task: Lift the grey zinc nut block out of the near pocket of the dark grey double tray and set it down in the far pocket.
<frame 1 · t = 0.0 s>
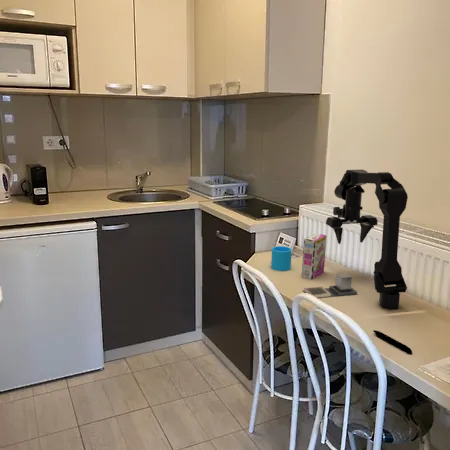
hand: (350, 243, 178), 15 cm above the breakfast bar, tool pointing down, fingers open, 9 cm apart
candy bar box: (313, 277, 184), on the breakfast bar
dark grey double tray: (329, 295, 166), on the breakfast bar
pen: (391, 345, 131), on the breakfast bar
nut block: (342, 291, 166), point 1 cm above the breakfast bar, touching dark grey double tray
mug: (278, 266, 196), on the breakfast bar
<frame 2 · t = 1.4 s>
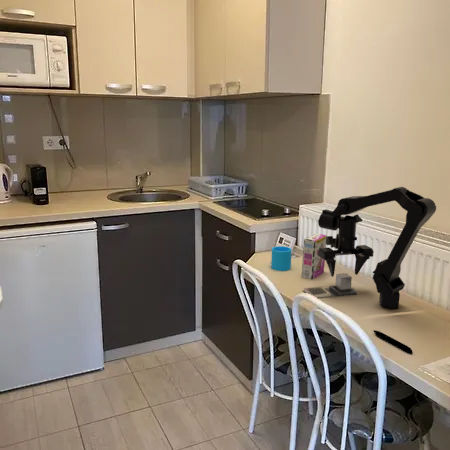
hand: (344, 275, 165), 7 cm above the breakfast bar, tool pointing down, fingers open, 9 cm apart
nothing on the breakfast bar moved.
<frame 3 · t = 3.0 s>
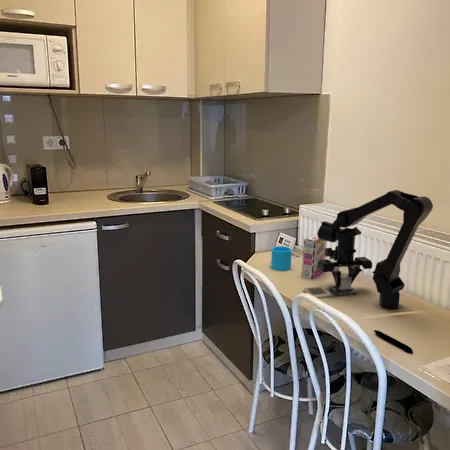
hand: (343, 287, 166), 3 cm above the breakfast bar, tool pointing down, fingers closed on nut block, 4 cm apart
nut block: (342, 291, 166), point 1 cm above the breakfast bar, touching gripper, dark grey double tray
everything else where it was.
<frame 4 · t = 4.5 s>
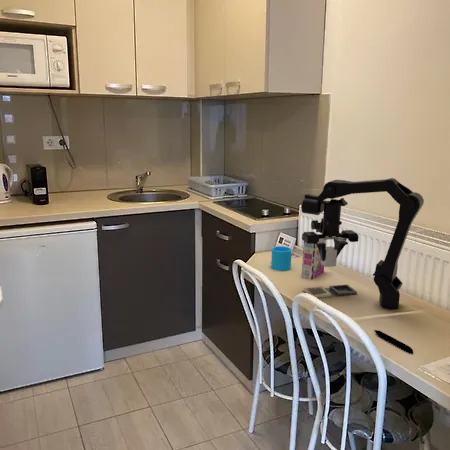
hand: (328, 260, 163), 13 cm above the breakfast bar, tool pointing down, fingers closed on nut block, 4 cm apart
nut block: (328, 264, 163), point 11 cm above the breakfast bar, touching gripper
everything else where it was.
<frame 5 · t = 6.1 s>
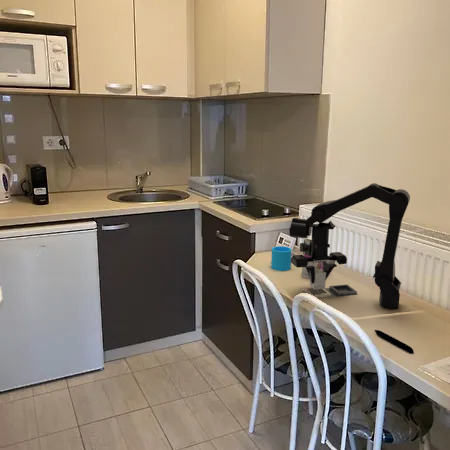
hand: (317, 282, 163), 5 cm above the breakfast bar, tool pointing down, fingers closed on nut block, 4 cm apart
nut block: (317, 286, 164), point 4 cm above the breakfast bar, touching gripper
everything else where it was.
when the fingers open (3 cm above the breakfast bar, at t = 7.2 s): nut block stays where it is, resting on dark grey double tray.
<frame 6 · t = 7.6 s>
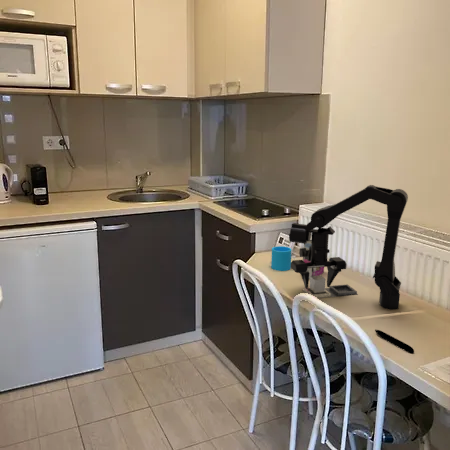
hand: (317, 287, 164), 3 cm above the breakfast bar, tool pointing down, fingers open, 8 cm apart
nut block: (316, 293, 164), point 1 cm above the breakfast bar, touching dark grey double tray
everything else where it was.
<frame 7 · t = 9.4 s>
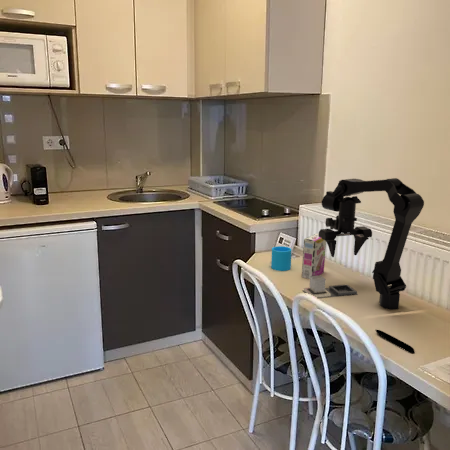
hand: (343, 255, 169), 12 cm above the breakfast bar, tool pointing down, fingers open, 9 cm apart
nothing on the breakfast bar moved.
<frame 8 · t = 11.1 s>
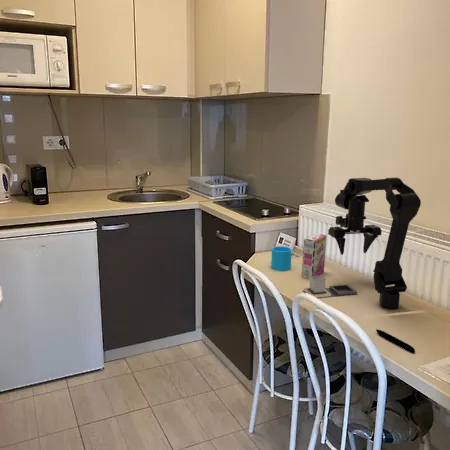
hand: (353, 253, 172), 12 cm above the breakfast bar, tool pointing down, fingers open, 9 cm apart
at the end: nut block 0.1 cm from the target spot on the dark grey double tray, point 1.0 cm above the dark grey double tray's base; nut block tilted 0°; the gripper is holding nothing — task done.
